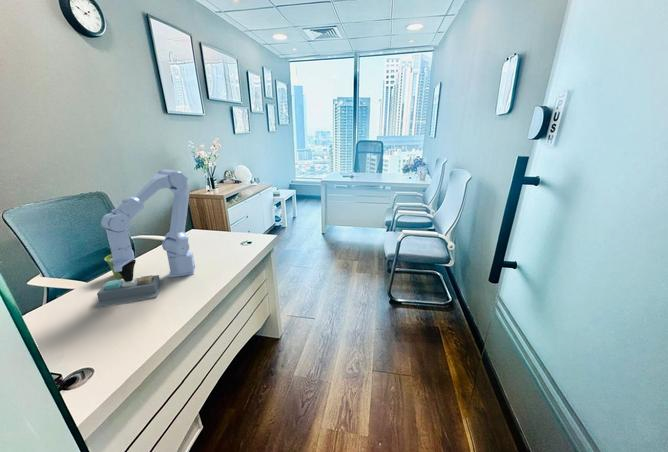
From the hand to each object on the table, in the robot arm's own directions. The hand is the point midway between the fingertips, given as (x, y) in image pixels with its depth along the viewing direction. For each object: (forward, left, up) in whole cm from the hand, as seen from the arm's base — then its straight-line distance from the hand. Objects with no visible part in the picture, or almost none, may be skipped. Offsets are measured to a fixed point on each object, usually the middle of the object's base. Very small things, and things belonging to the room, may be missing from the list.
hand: (129, 280), depth 97 cm
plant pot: (+7, -18, -6) cm, 20 cm away
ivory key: (0, 0, -3) cm, 3 cm away
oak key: (-5, 0, -3) cm, 6 cm away
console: (0, 0, -5) cm, 5 cm away
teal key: (+5, 0, -3) cm, 6 cm away
